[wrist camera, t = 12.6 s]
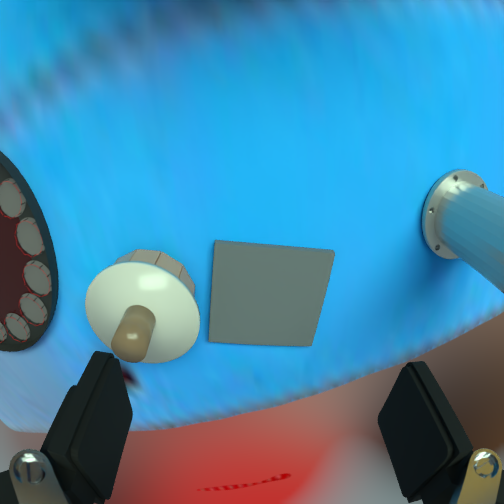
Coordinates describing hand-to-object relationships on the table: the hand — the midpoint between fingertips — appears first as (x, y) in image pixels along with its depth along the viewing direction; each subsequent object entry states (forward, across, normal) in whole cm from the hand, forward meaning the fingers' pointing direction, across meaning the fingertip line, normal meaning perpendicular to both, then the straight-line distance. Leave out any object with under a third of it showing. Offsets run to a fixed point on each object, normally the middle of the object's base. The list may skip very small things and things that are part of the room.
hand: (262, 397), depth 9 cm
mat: (+28, -3, +13) cm, 31 cm away
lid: (+21, +11, +12) cm, 27 cm away
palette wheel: (+26, +42, +9) cm, 51 cm away
